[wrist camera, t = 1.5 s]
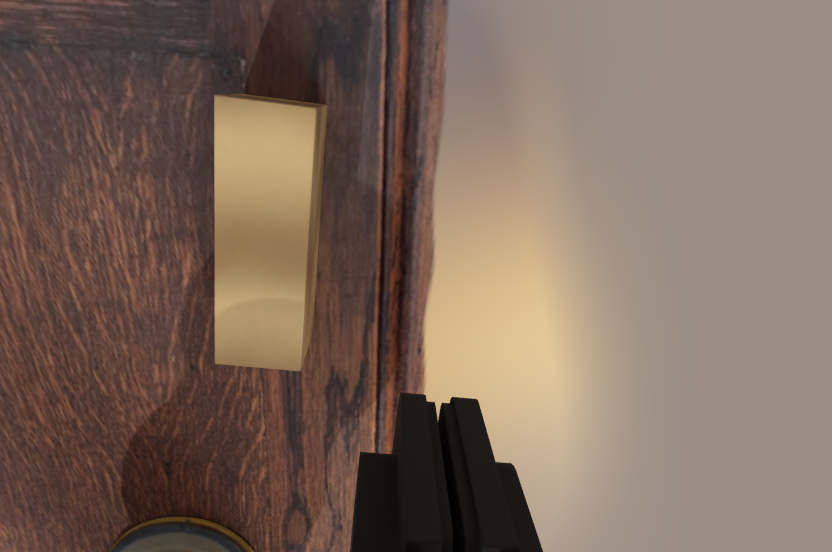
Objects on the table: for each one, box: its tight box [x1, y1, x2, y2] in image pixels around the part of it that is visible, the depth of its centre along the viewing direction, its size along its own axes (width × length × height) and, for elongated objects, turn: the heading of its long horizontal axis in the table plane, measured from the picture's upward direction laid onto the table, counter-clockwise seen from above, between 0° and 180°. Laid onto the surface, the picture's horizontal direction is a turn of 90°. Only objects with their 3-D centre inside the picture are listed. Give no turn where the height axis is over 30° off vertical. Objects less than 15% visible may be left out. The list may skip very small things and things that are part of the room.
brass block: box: [214, 94, 328, 371], centre depth 25 cm, size 12×4×4 cm, turn 173°
